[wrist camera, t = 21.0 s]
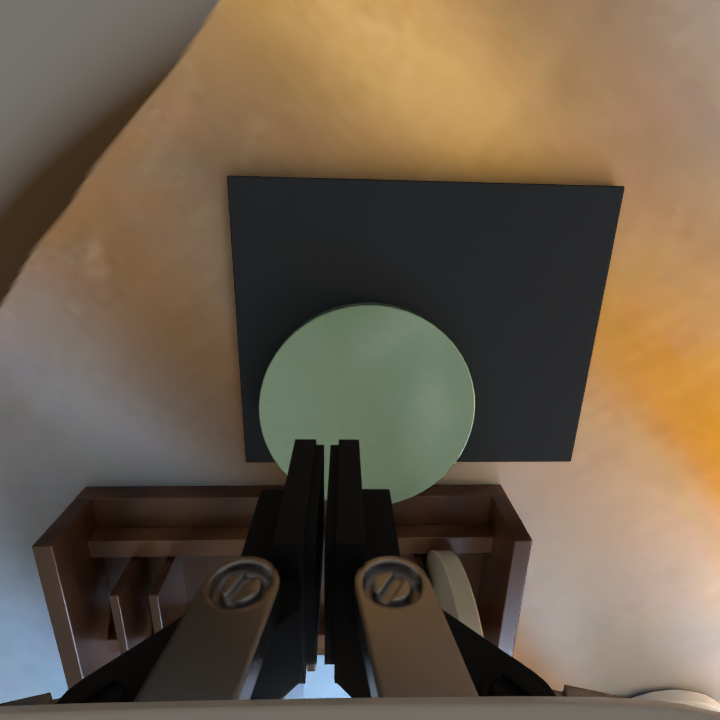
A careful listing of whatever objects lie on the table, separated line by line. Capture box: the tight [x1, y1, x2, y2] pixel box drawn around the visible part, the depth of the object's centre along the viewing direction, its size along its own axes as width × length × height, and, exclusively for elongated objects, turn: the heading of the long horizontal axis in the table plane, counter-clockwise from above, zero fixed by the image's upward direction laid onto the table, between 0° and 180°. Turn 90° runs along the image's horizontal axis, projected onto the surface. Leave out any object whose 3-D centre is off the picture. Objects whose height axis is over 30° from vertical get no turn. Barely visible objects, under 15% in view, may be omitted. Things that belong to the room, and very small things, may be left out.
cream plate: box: [424, 550, 484, 637], centre depth 24 cm, size 1×12×12 cm, turn 178°
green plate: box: [259, 303, 475, 504], centre depth 25 cm, size 1×12×12 cm
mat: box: [227, 176, 624, 462], centre depth 25 cm, size 20×16×1 cm
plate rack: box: [32, 485, 533, 689], centre depth 28 cm, size 26×13×5 cm, turn 89°
